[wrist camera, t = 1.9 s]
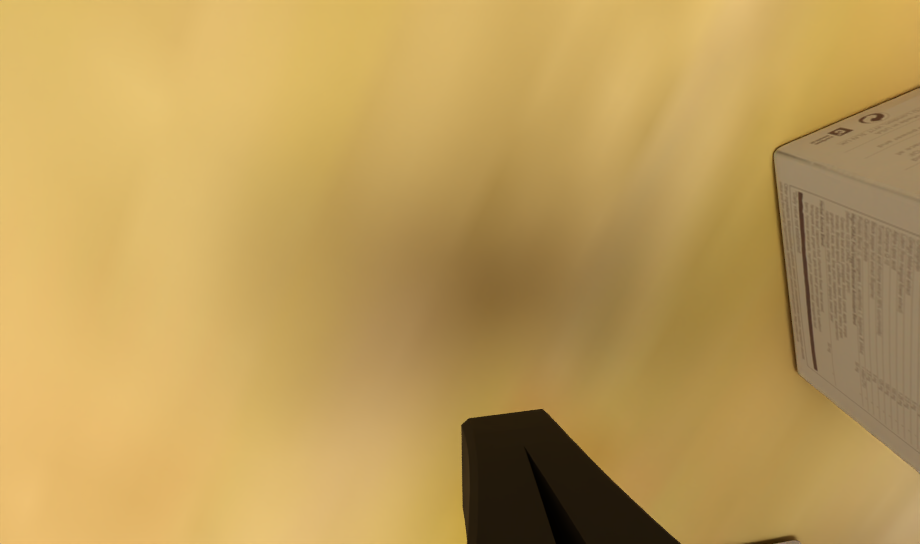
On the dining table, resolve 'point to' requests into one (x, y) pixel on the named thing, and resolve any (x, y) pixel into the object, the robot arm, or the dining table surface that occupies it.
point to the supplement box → (858, 266)
